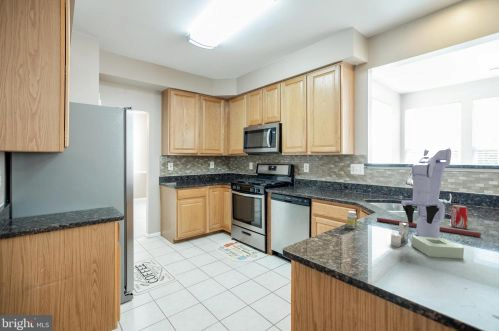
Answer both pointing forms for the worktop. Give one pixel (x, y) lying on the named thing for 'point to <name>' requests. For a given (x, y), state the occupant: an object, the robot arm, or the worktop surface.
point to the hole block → (437, 247)
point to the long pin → (404, 231)
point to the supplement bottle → (351, 219)
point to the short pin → (396, 240)
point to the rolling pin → (440, 227)
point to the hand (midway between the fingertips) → (419, 222)
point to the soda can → (459, 216)
